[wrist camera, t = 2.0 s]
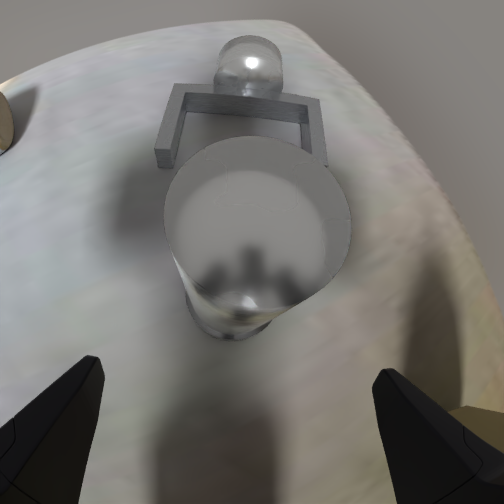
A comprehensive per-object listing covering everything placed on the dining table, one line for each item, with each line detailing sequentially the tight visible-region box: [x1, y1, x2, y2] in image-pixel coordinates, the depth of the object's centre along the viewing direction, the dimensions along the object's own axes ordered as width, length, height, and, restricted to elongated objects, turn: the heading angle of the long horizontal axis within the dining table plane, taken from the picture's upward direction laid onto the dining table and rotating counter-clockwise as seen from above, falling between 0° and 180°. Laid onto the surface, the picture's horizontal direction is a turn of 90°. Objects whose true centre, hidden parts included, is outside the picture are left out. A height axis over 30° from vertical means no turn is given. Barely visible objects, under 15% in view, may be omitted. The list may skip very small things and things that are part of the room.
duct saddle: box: [154, 35, 328, 168], centre depth 23 cm, size 12×13×6 cm
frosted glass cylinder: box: [163, 136, 352, 341], centre depth 14 cm, size 6×6×13 cm
